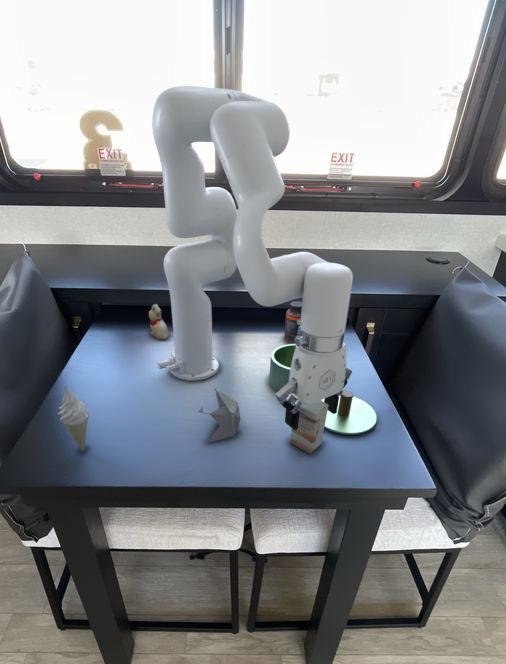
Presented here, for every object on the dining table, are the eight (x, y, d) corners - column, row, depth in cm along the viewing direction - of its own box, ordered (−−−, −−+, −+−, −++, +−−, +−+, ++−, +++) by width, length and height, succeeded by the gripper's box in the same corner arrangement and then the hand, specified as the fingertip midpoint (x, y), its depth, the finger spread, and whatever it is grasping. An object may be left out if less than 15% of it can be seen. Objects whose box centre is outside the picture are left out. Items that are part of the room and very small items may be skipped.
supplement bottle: (303, 345, 120) (307, 308, 114) (282, 343, 121) (285, 306, 115) (304, 336, 125) (308, 300, 119) (285, 334, 126) (288, 299, 120)
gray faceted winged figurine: (242, 442, 82) (197, 435, 80) (233, 450, 88) (191, 444, 86) (247, 388, 87) (204, 379, 85) (238, 399, 93) (198, 391, 91)
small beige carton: (289, 442, 84) (293, 402, 79) (301, 432, 87) (306, 393, 82) (310, 455, 81) (316, 414, 76) (322, 444, 84) (329, 403, 79)
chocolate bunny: (169, 328, 128) (166, 297, 123) (168, 340, 122) (166, 308, 116) (150, 329, 128) (147, 298, 122) (149, 340, 121) (146, 308, 116)
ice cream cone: (72, 442, 83) (56, 378, 75) (98, 441, 84) (84, 378, 76) (66, 459, 79) (47, 394, 71) (93, 458, 79) (78, 393, 71)
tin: (291, 404, 96) (294, 376, 92) (258, 377, 105) (260, 351, 101) (333, 388, 102) (338, 361, 98) (299, 364, 111) (302, 339, 107)
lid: (341, 445, 84) (346, 421, 81) (297, 409, 94) (300, 387, 91) (389, 423, 90) (396, 400, 87) (343, 391, 100) (347, 370, 97)
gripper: (295, 359, 65) (287, 444, 74) (373, 334, 72) (357, 414, 82) (267, 341, 70) (263, 422, 79) (342, 320, 78) (331, 395, 87)
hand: (311, 417), depth 80 cm, fingers open, 9 cm apart
